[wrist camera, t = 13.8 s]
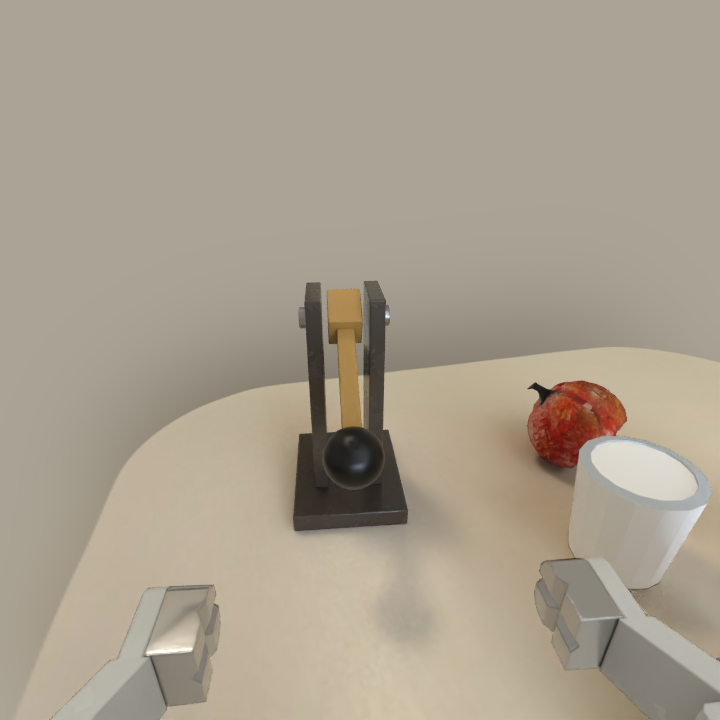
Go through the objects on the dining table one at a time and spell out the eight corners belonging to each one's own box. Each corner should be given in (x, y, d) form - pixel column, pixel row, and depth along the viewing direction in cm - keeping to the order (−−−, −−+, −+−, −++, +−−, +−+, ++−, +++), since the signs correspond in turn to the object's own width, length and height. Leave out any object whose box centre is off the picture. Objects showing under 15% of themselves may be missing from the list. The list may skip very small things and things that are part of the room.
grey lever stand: (407, 523, 32) (419, 314, 25) (294, 531, 31) (275, 318, 24) (388, 440, 41) (393, 270, 34) (300, 445, 40) (287, 272, 33)
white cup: (621, 506, 33) (647, 428, 30) (702, 587, 27) (745, 499, 24) (538, 521, 32) (556, 440, 29) (603, 608, 26) (634, 518, 23)
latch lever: (384, 496, 25) (390, 475, 22) (324, 499, 25) (322, 479, 22) (366, 315, 32) (369, 282, 30) (319, 317, 32) (317, 284, 29)
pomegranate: (599, 462, 41) (523, 381, 43) (673, 431, 36) (583, 339, 37) (571, 513, 37) (488, 420, 38) (651, 487, 31) (549, 379, 33)
